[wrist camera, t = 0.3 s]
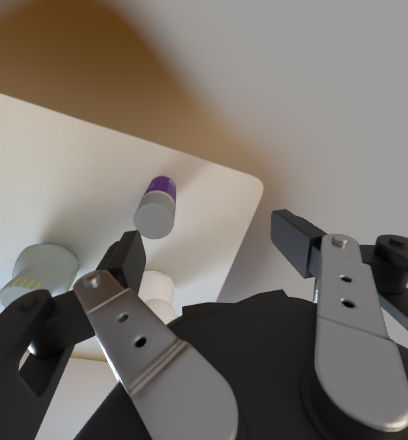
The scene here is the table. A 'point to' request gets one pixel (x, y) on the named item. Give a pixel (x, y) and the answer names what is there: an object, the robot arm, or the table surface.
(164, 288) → the cat figurine
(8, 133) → the table surface
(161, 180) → the container
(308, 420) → the robot arm
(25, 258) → the air freshener
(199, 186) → the table surface
